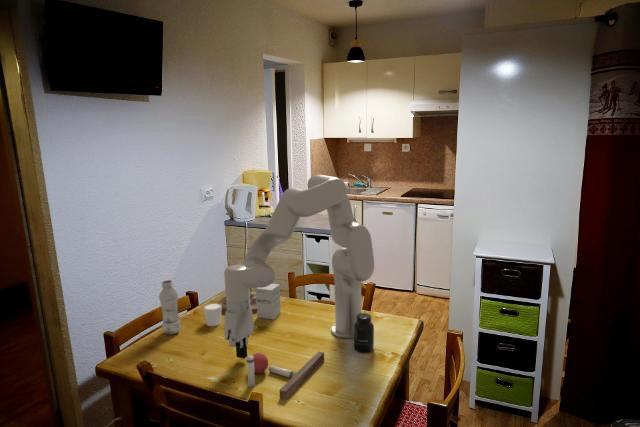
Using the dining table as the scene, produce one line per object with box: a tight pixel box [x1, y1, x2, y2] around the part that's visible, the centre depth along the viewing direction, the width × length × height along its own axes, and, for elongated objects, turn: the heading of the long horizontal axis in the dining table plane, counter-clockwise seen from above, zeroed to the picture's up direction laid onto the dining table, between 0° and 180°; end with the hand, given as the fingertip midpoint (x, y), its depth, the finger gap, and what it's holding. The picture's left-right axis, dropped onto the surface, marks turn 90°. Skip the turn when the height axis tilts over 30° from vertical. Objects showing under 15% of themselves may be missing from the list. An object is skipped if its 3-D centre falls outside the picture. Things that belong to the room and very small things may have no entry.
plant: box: [217, 288, 257, 314], centre depth 190 cm, size 20×20×11 cm
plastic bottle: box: [158, 279, 182, 335], centre depth 165 cm, size 6×7×20 cm
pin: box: [268, 365, 298, 379], centre depth 136 cm, size 2×2×9 cm
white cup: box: [203, 303, 222, 327], centre depth 174 cm, size 7×7×7 cm
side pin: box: [246, 354, 256, 388], centre depth 130 cm, size 2×2×9 cm
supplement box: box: [255, 283, 281, 321], centre depth 179 cm, size 7×7×13 cm
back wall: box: [278, 350, 325, 400], centre depth 134 cm, size 2×24×2 cm, turn 153°
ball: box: [252, 352, 269, 374], centre depth 138 cm, size 6×6×6 cm
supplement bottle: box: [353, 312, 375, 354], centre depth 150 cm, size 7×7×12 cm
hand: (241, 356), depth 145 cm, fingers closed
